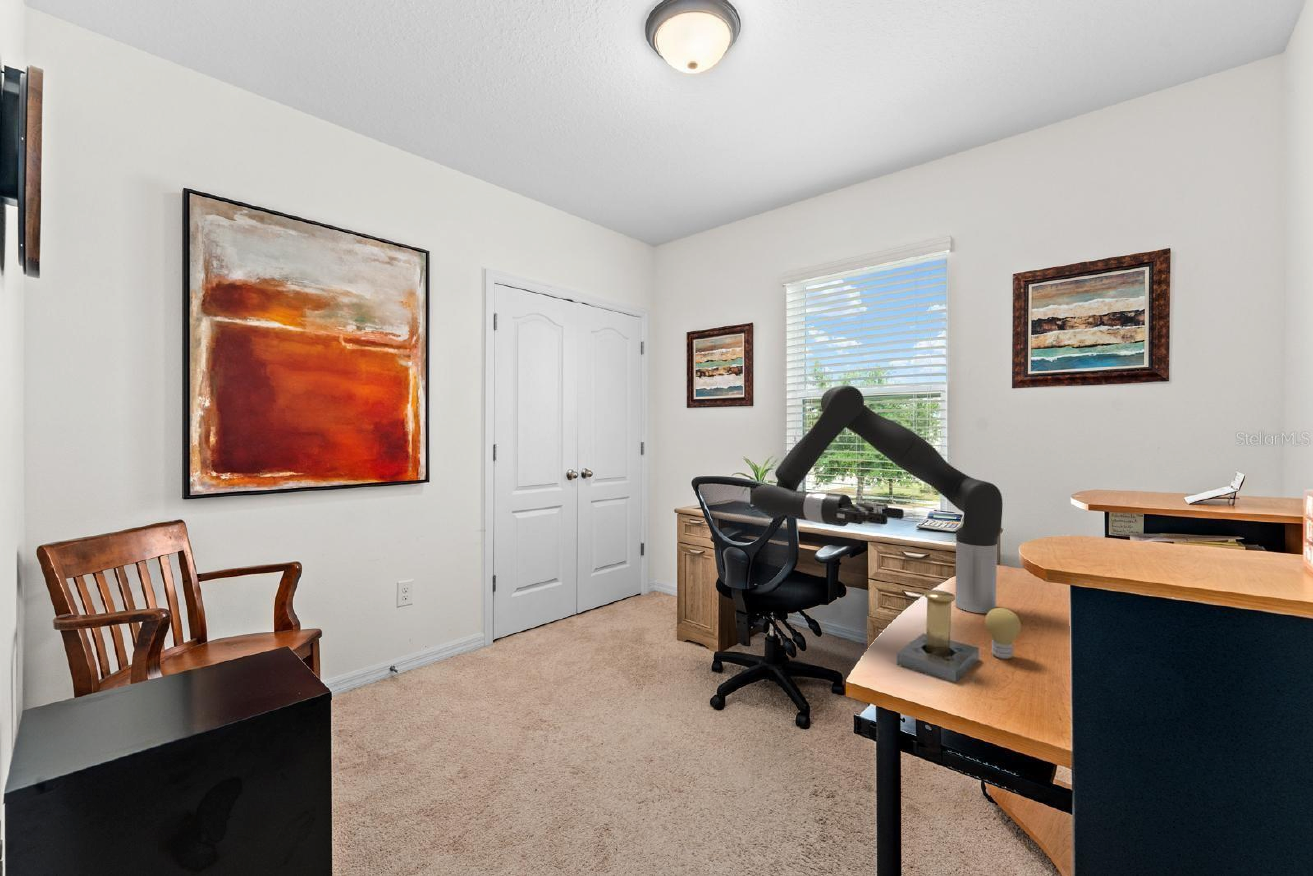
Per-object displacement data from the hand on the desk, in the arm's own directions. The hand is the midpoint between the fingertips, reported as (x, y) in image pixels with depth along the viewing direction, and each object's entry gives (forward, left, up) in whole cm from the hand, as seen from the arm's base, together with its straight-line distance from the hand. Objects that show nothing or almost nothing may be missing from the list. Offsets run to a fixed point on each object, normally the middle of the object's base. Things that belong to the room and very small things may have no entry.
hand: (895, 516), depth 124 cm
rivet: (+4, +10, -28) cm, 30 cm away
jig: (+4, +11, -28) cm, 30 cm away
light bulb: (-8, +19, -28) cm, 35 cm away
